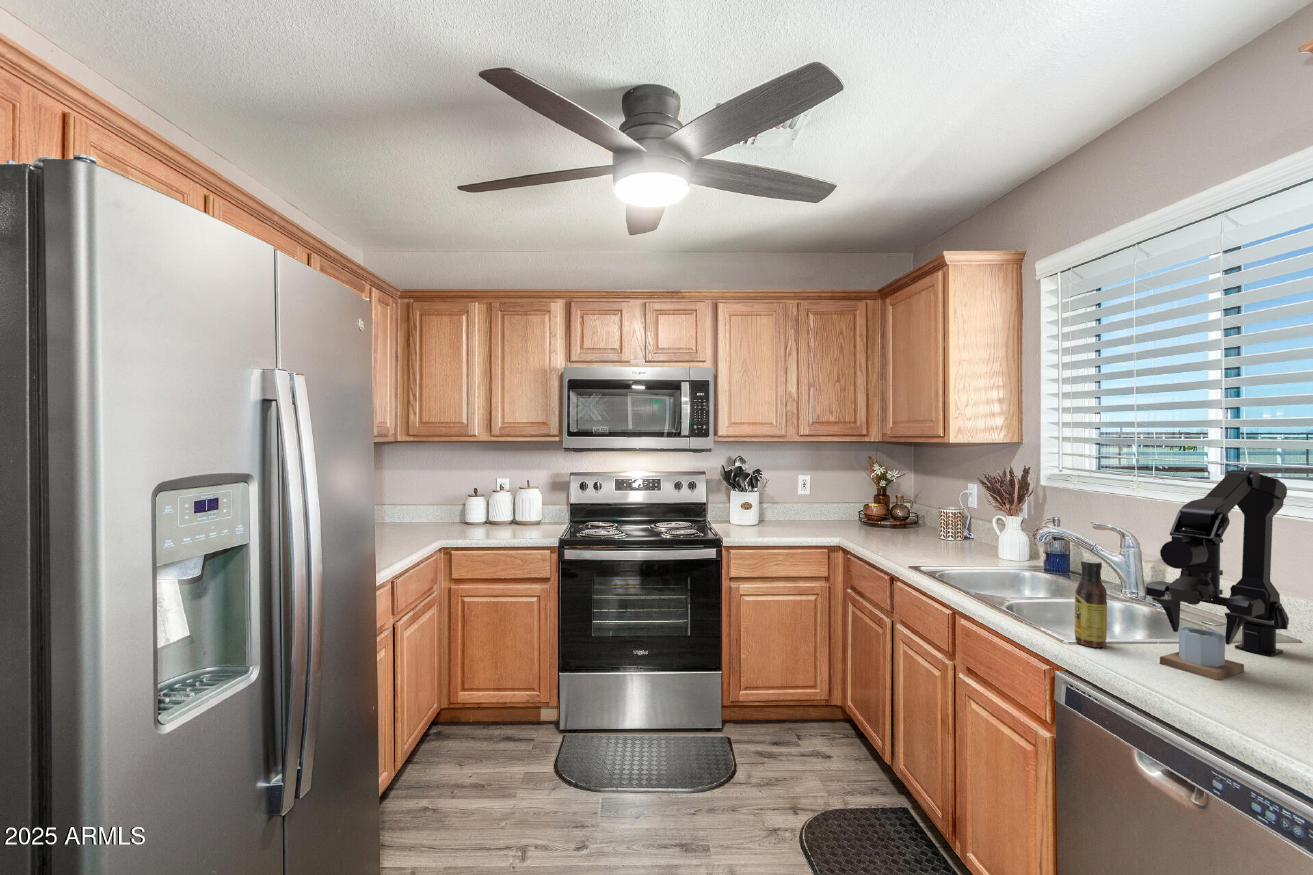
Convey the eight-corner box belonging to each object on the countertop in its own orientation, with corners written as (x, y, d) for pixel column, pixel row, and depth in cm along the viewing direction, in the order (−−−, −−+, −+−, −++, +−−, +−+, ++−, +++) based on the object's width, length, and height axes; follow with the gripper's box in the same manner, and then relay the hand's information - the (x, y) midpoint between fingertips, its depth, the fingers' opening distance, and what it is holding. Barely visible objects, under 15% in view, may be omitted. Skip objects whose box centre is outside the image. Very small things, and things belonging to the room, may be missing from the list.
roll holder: (1187, 656, 141) (1187, 622, 141) (1243, 671, 132) (1244, 635, 132) (1159, 663, 137) (1160, 628, 136) (1216, 679, 128) (1217, 642, 127)
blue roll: (1190, 652, 139) (1191, 625, 139) (1229, 663, 133) (1230, 634, 133) (1173, 657, 136) (1173, 629, 136) (1212, 668, 130) (1213, 639, 130)
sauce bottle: (1076, 638, 153) (1076, 556, 153) (1107, 643, 149) (1108, 559, 149) (1072, 644, 148) (1073, 560, 148) (1105, 650, 144) (1106, 564, 144)
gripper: (1131, 559, 139) (1130, 630, 139) (1238, 577, 122) (1237, 657, 122) (1159, 555, 144) (1158, 624, 144) (1266, 571, 127) (1265, 649, 127)
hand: (1201, 637), depth 134 cm, fingers open, 9 cm apart
